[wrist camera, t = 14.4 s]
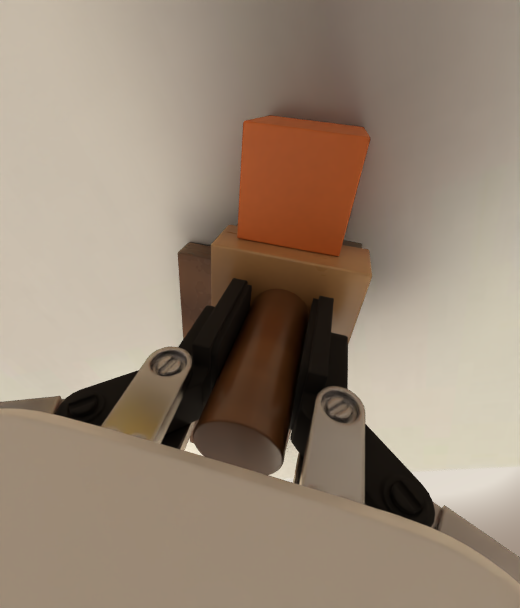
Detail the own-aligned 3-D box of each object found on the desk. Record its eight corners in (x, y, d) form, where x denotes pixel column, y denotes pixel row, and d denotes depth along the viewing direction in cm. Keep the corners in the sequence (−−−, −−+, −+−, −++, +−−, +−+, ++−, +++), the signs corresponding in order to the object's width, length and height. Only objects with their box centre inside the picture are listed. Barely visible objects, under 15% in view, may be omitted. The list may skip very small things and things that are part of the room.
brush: (235, 216, 14) (110, 353, 7) (368, 239, 13) (392, 425, 6) (231, 303, 17) (141, 466, 10) (340, 327, 16) (332, 524, 9)
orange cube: (259, 208, 15) (268, 115, 13) (340, 222, 15) (364, 127, 12) (236, 238, 12) (242, 120, 10) (339, 257, 11) (370, 137, 9)
